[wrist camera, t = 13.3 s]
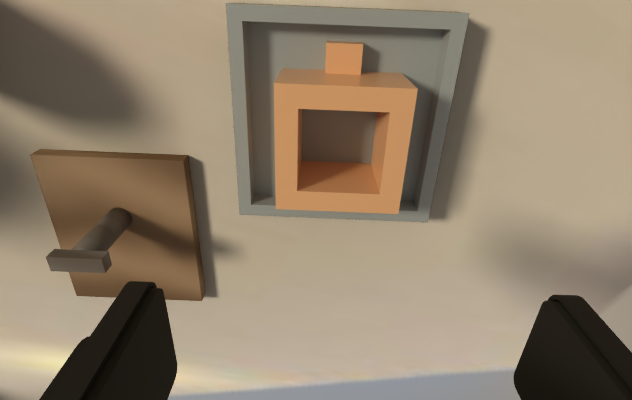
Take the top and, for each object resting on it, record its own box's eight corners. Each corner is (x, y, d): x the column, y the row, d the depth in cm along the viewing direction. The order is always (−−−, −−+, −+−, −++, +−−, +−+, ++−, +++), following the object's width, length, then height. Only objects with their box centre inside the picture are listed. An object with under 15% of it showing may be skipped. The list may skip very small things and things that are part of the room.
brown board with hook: (205, 292, 32) (178, 358, 26) (83, 287, 32) (30, 352, 26) (187, 155, 26) (148, 200, 20) (39, 149, 26) (-41, 192, 20)
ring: (386, 180, 26) (398, 214, 22) (283, 176, 26) (275, 209, 22) (405, 43, 22) (423, 54, 18) (282, 38, 22) (273, 48, 18)
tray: (421, 207, 27) (427, 222, 26) (244, 200, 27) (239, 214, 26) (457, 12, 22) (469, 13, 20) (233, 2, 22) (225, 3, 20)
